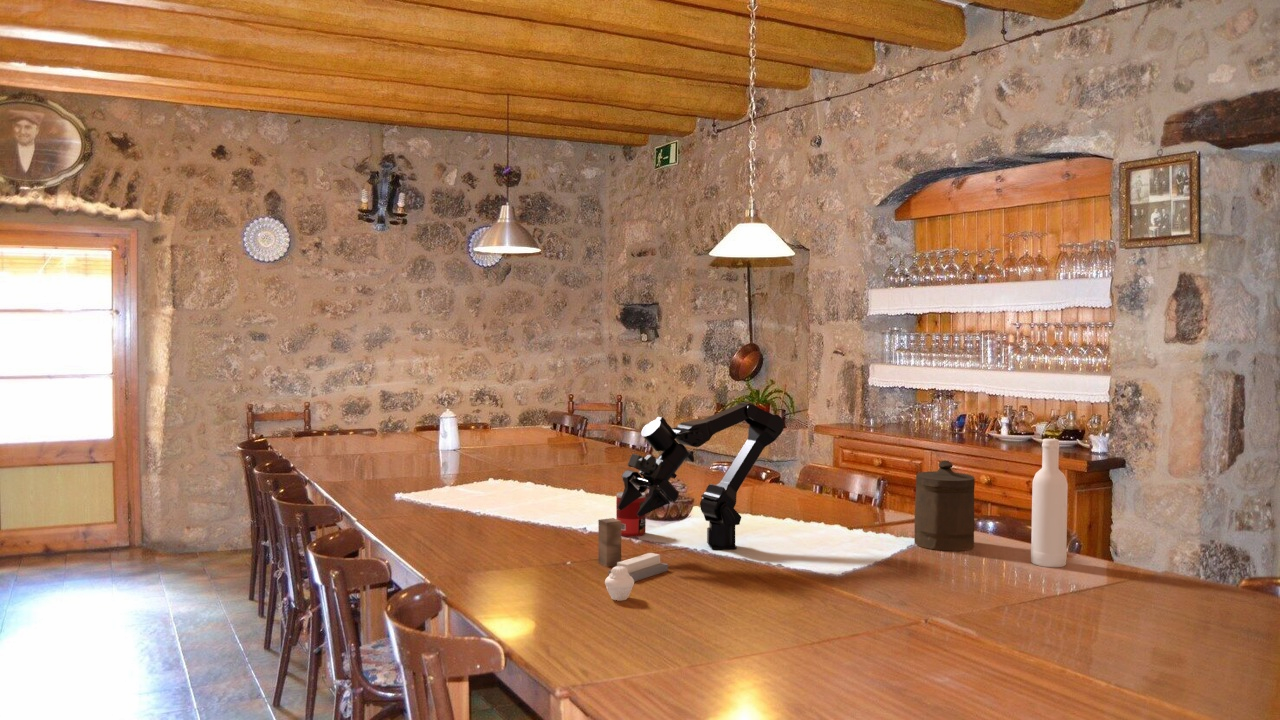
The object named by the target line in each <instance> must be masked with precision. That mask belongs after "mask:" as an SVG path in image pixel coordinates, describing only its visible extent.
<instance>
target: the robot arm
mask: <svg viewBox="0 0 1280 720" xmlns="http://www.w3.org/2000/svg"><path fill="white" fill-rule="evenodd" d="M742 422H744V423H746V424H747V425H749V426H748V432H747V433H748V435H747V436H748V437H747V439H746V441H745V443H744V444H743V446H742V447H741V449H740V451H739V452H738V454H737V455H736V457H735V458H734V460H733V461H732V463H731V464H730V466H729V467H728V470H727V471H726V472H725V474H724V476H723V477H722V478H721V480H720V482H719V483H717V484H712V483H709V484H708V485H707V487H706V489H705V491H704V493H702V494H701V495H700V497H702V498H701V500H700V502H699V506H700V511H701V513H702V514H703V516H704V520H705V521H706V522H709V526H708V527H706V530H707V531H706V534H707V535H706V544H707V545H708V546H709V547H710V549H711V550H729V549H730V550H733V549H737V548H738V546H737V545H736V526H738V525H739V526H740V524H741V520H742V516H741V515H740V513H739V512H738V511H737V510H736V509H735V507H736V505H737V493H738V491H739V489H740V487H741V486H742V484H743V483H744V481H745V480H746V478H747V476H748V475H749V473H750V471H752V468H753V467H754V465H755V463H756V462H757V460H758V459H759V457H760V456H761V454H762V452H763V450H764V449H765V448H766V447H767V446H770V445H771V444H772V443H774V442H776V440H777V439H778V438H779V437H780V435H781V434H782V433H783V431H784V430H785V426H784V420H783V418H782V417H781V415H779V414H774V413H771V412H769V411H767V410H765V409H762V408H760V407H758V406H757V405H755V404H754V403H753V402H744V401H743V402H739V403H737V404H736V405H733V406H731V407H729V408H726V409H724V410H722V411H720V412H718V413H715V414H712V415H710V416H708V417H706V418H702V419H692V420H688V421H683V422H680V423H679V424H677V426H676V427H671V426H670V425H669V424H668V422H667V420H666V419H665V417H662V416H657V417H656V418H655V419H654V420H650V422H648V423H647V424H645V425H644V426H643V428H642V430H641V431H640V434H641V436H642V437H643V439H644V440H645V441H646V442H647V443H648V445H650V446H651V448H652V449H653V450H654V451H655V452H661V453H660V454H659V455H658V456H657V457H656V456H654V455H652V454H647V455H646V456H643V455H640V454H635V453H631V455H630V457H629V460H628V462H627V466H628V467H629V468H633V469H636V470H637V471H635V470H632V469H629V470H628V469H626V470H625V471H624V472H623V474H622V475H621V478H622V482H623V485H624V488H623V491H622V492H623V495H622V497H621V500H620V502H619V505H618V509H619V510H622V509H624V508H625V507H627V506H628V505H630V504H631V503H632V502H634V501H635V500H636V499H638V498H639V497H641V496H642V494H641V493H645V492H646V491H647V490H648V495H647V497H646V500H645V501H644V503H643V504H642V506H641V507H640V509H639V511H638V513H637V515H638V516H639V517H641V516H643V515H645V514H646V515H647V514H649V513H651V512H653V511H656V510H657V509H659V508H663V507H665V506H666V505H670V504H671V503H672V504H675V502H676V501H677V500H678V499H679V495H680V494H679V492H680V491H678V489H677V488H676V487H675V486H674V485H673V484H672V483H671V482H670V480H671V479H674V480H675V479H676V478H677V476H678V475H677V471H678V470H679V469H680V467H681V466H682V465H683V463H684V462H685V461H686V462H690V463H695V456H694V451H693V450H690V449H689V450H688V449H687V447H693V448H699V447H701V446H703V445H704V444H706V443H708V441H710V440H711V439H712V438H713V436H714V435H715V434H717V433H719V432H721V431H724V430H726V429H728V428H731V427H733V426H735V425H737V424H740V423H742ZM686 446H687V447H686Z"/></svg>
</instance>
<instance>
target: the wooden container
mask: <svg viewBox="0 0 1280 720" xmlns="http://www.w3.org/2000/svg"><path fill="white" fill-rule="evenodd" d="M938 467H939V468H938V470H937V471H934V470H933V471H932V470H931V471H920V472H918V473H917V472H916V477H915V482H916V483H915V484H916V485H915V499H914V500H915V501H914V502H915V503H914V544H916V546H919V547H921V548H923V549H929V550H935V551H941V552H942V551H945V552H964V551H969V550H972V549H973V548H974V547H975V486H976V484H975V483H976V481H975V480H976V479H975V476H973V475H971V474H968V473H962V472H956V471H953V470H952V468H953V463H952V462H950V460H947V459H946V460H941V461H939V462H938Z"/></svg>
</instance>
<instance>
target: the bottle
mask: <svg viewBox="0 0 1280 720" xmlns="http://www.w3.org/2000/svg"><path fill="white" fill-rule="evenodd" d="M1041 448H1042V456H1041V457H1042V459H1041V468H1040V469H1039V470H1038V471H1036V472H1035V474H1034V477H1033V479H1032V483H1031V484H1032V487H1031V488H1032V491H1031V492H1032V493H1031V537H1030V538H1031V540H1030V541H1031V542H1030V543H1031V544H1030V562H1031V564H1033V565H1035V566H1039V567H1043V568H1063V567H1065V566H1066V565H1067V556H1068V555H1067V554H1068V553H1067V541H1068V540H1067V538H1068V536H1067V535H1068V532H1067V531H1068V526H1067V525H1068V490H1069V489H1068V488H1069V486H1068V485H1069V484H1068V480H1067V478H1066V475H1065V474H1064V473H1063V471H1062V470H1060V468H1059V463H1060V461H1059V460H1060V459H1059V458H1060V440H1059V439H1057V438H1043V439H1042V443H1041Z"/></svg>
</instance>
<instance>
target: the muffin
mask: <svg viewBox="0 0 1280 720" xmlns="http://www.w3.org/2000/svg"><path fill="white" fill-rule="evenodd" d="M610 570H611V574H609V573H608V576H607V577H606V578H605V580H604V585H605V586H606V590H607V592H608V594H609V597H610V598H611V600H613V601H616V600H617V601H616V602H619V601H627V600H628V598H629V595H630V594H631V592H632V590H633V586H634V584H635V582H634V579H633V578H632V577H631V576H630V575H629V573H628V570H627V568H625V567H623V566H617V565H616V566H613V567H612V569H610Z"/></svg>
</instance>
